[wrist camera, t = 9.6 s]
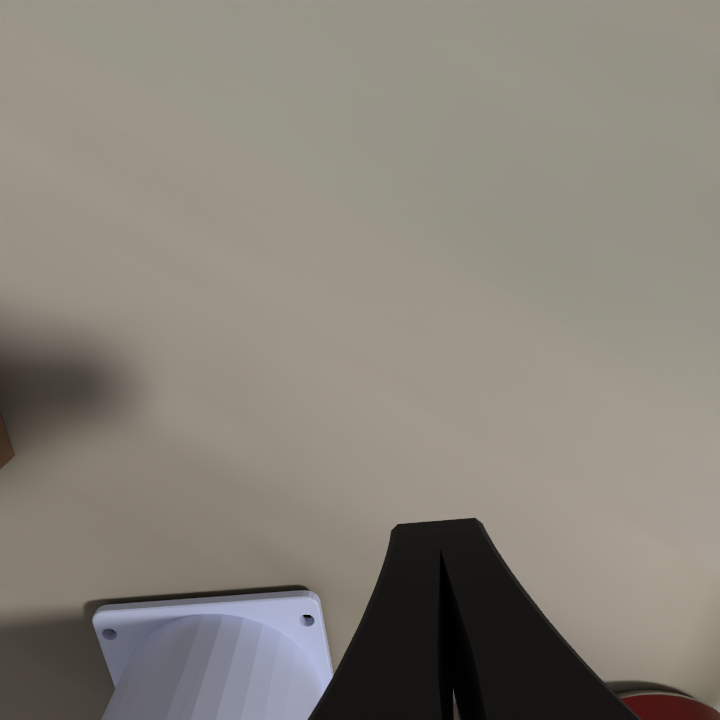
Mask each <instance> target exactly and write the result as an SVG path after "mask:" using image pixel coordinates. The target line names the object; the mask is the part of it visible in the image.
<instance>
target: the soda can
mask: <svg viewBox="0 0 720 720" xmlns="http://www.w3.org/2000/svg"><path fill="white" fill-rule="evenodd" d="M616 695H617V696H618V697H619V698H620V699H621V700H622V701H623V702H624V703H625V704H626V705H627V706H628V707H629V708H630V709H631V710H632V711H633V712H634V713H635V714H636V715H638V716H639V717H640V718H641V719H642V720H720V713H719V712H718V711H717V710H715V709H714V708H713V707H711V706H709V705H707V704H705V703H702V702H700V701H698V700H696V699H693V698H691V697H688V696H685V695H681V694H678V693H674V692H670V691H661V690H633V691H627V692H621V693H616Z"/></svg>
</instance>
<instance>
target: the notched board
mask: <svg viewBox="0 0 720 720" xmlns="http://www.w3.org/2000/svg"><path fill="white" fill-rule="evenodd" d="M14 456H15V454H14V451H13V449H12V446H11V443H10V440H9V437H8V435H7V432H6V429H5V426H4V424H3V421H2V418H1V415H0V469H1V468H2V467H3V466H4V465H5V464H6V463H7V462H8V461H9V460H11V459H12V458H13V457H14Z"/></svg>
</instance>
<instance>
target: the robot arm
mask: <svg viewBox="0 0 720 720" xmlns="http://www.w3.org/2000/svg"><path fill="white" fill-rule="evenodd" d="M302 615H311V616H312V617H311V618H305V617H304V616H302ZM92 623H93V626H94V629H95V632H96V635H97V638H98V640H99V643H100V646H101V649H102V652H103V655H104V658H105V661H106V663H107V666H108V669H109V672H110V675H111V678H112V681H113V684H114V686H115V691H114V693H113V695H112V697H111V699H110V702H109V704H108V706H107V708H106V710H105V712H104V715H103V717H102V719H101V720H454V715H453V690H454V694H455V699H456V704H457V709H458V713H459V718H460V720H642V719H641V718H640V717H639V716H638V715H636V714H635V713H634V712H633V711H632V710H631V709H630V708H629V707H628V706H627V705H626V704H625V703H624V702H623V701H622V700H621V699H620V698H619V697H618V696H617V695H616V694H615V693H614V692H613V691H612V690H611V689H610V688H609V687H608V686H607V685H606V684H605V683H604V682H603V681H602V680H601V679H600V678H599V677H598V676H597V675H596V673H595V672H594V671H593V670H592V669H591V668H590V667H589V666H588V665H587V664H586V663H585V662H584V661H583V659H582V658H581V657H580V656H579V655H578V654H577V653H576V652H575V650H574V649H573V648H572V647H571V646H570V645H569V644H568V643H567V641H566V640H565V639H564V638H563V637H562V636H561V635H560V633H559V632H558V631H557V630H556V629H555V627H554V626H553V625H552V624H551V623H550V621H549V620H548V619H547V618H546V617H545V615H544V614H543V613H542V611H541V610H540V609H539V608H538V606H537V605H536V604H535V602H534V601H533V600H532V599H531V597H530V596H529V595H528V593H527V592H526V591H525V589H524V588H523V587H522V586H521V584H520V583H519V581H518V580H517V579H516V577H515V576H514V574H513V573H512V572H511V570H510V569H509V567H508V566H507V564H506V563H505V561H504V560H503V558H502V557H501V555H500V554H499V552H498V551H497V549H496V547H495V546H494V544H493V542H492V541H491V539H490V537H489V535H488V534H487V532H486V530H485V528H484V526H483V524H482V523H481V522H480V521H478V520H477V519H476V518H468V519H456V520H443V521H431V522H418V523H406V524H397V525H396V527H395V528H394V529H393V530H392V531H391V536H390V542H389V546H388V550H387V553H386V557H385V560H384V563H383V566H382V569H381V572H380V575H379V578H378V581H377V583H376V586H375V588H374V591H373V593H372V596H371V598H370V600H369V603H368V605H367V608H366V610H365V612H364V615H363V617H362V619H361V622H360V624H359V626H358V628H357V630H356V632H355V634H354V636H353V638H352V640H351V642H350V644H349V646H348V648H347V650H346V652H345V654H344V656H343V658H342V660H341V662H340V664H339V666H338V668H337V670H336V672H335V674H333V669H332V663H331V658H330V652H329V647H328V641H327V635H326V630H325V624H324V619H323V613H322V608H321V602H320V599H319V597H318V596H317V595H316V594H315V593H314V592H311V591H307V590H299V591H286V592H272V593H259V594H245V595H232V596H218V597H205V598H191V599H177V600H164V601H150V602H137V603H123V604H110V605H103V606H100V607H99V608H98V609H97V610H96V612H95V614H94V616H93V618H92ZM109 629H112V630H114V631H115V632H114V631H111V630H109Z"/></svg>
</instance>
